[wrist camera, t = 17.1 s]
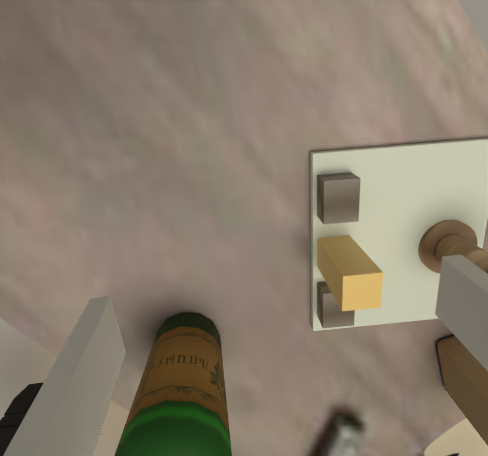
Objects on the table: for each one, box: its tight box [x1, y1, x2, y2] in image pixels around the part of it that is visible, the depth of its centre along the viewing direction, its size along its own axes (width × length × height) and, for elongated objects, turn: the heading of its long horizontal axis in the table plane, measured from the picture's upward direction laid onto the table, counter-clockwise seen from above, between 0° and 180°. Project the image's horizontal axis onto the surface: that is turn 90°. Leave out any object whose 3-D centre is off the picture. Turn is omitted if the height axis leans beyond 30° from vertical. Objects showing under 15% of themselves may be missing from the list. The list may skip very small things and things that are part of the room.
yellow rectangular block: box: [317, 235, 383, 311], centre depth 41 cm, size 4×4×10 cm
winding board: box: [310, 138, 488, 331], centre depth 47 cm, size 24×22×1 cm
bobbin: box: [418, 220, 488, 274], centre depth 41 cm, size 7×7×12 cm
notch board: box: [317, 172, 360, 328], centre depth 45 cm, size 19×4×3 cm, turn 4°
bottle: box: [115, 313, 232, 456], centre depth 38 cm, size 11×11×28 cm
